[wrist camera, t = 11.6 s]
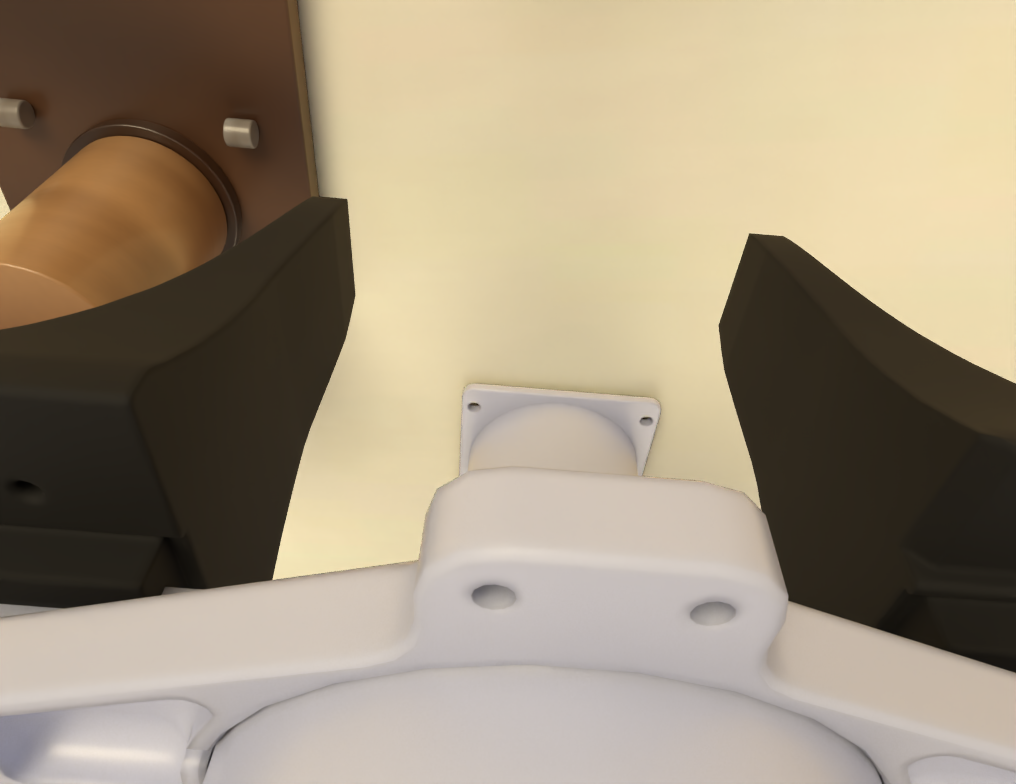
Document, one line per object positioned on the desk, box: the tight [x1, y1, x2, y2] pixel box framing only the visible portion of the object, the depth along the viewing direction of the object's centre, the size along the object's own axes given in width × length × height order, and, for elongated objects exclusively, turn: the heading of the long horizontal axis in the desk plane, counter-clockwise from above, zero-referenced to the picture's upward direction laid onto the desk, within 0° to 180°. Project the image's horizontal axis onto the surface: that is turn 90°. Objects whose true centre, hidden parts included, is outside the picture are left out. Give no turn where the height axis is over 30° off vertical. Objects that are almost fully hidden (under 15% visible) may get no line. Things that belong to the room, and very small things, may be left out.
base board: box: [0, 0, 319, 244], centre depth 21 cm, size 16×10×2 cm, turn 176°
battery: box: [0, 119, 242, 330], centre depth 20 cm, size 5×5×8 cm
